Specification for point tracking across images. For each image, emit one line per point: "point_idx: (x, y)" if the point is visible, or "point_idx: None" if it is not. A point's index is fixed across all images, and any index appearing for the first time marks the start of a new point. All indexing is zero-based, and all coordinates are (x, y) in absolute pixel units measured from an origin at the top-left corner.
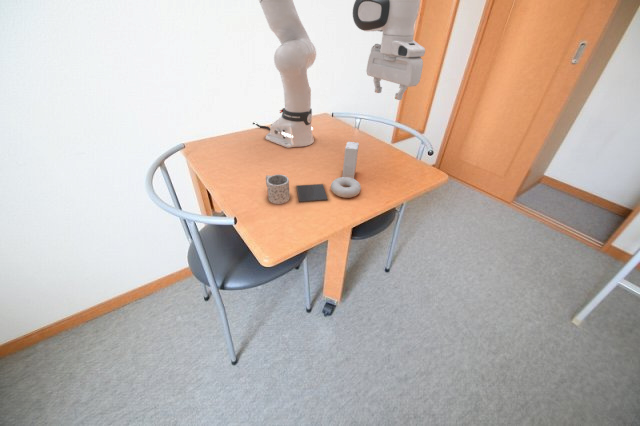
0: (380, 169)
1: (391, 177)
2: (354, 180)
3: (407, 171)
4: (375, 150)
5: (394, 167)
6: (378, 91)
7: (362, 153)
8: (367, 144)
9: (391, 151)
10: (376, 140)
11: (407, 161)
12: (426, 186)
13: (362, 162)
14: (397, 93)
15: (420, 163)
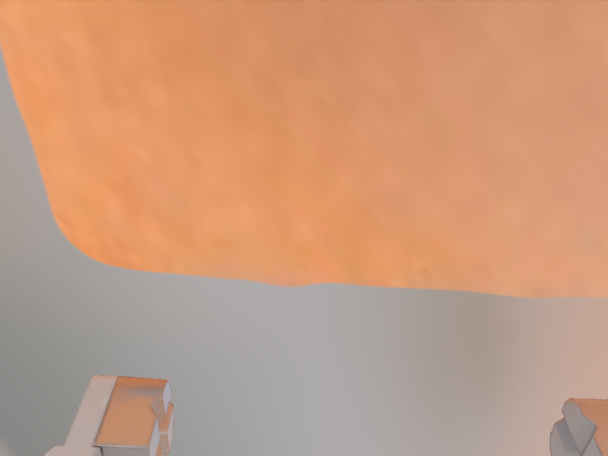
0: (300, 43)
1: (186, 23)
2: None
3: (198, 157)
4: (495, 202)
5: (272, 133)
6: (575, 424)
7: (530, 108)
8: (585, 222)
9: (421, 260)
10: (575, 295)
11: (284, 240)
12: (22, 112)
13: (443, 12)
14: (115, 453)
15: (231, 272)
